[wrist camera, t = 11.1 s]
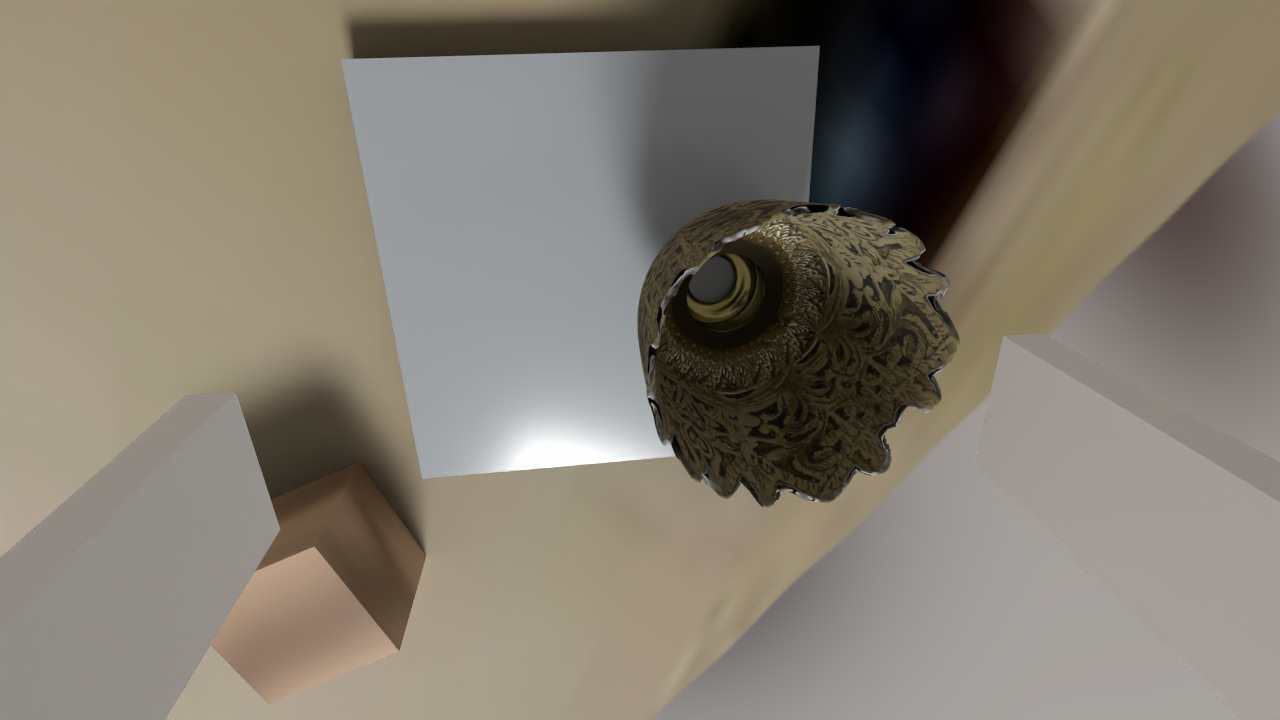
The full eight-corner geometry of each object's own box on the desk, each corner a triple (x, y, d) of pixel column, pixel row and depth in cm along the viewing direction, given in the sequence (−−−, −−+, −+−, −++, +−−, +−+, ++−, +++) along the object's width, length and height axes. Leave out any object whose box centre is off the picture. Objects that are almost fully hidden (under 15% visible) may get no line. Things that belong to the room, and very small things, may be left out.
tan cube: (243, 510, 25) (172, 606, 20) (359, 460, 25) (314, 546, 20) (318, 599, 27) (269, 704, 22) (426, 553, 27) (399, 651, 22)
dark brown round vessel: (690, 116, 20) (795, 131, 12) (855, 245, 22) (1021, 320, 15) (559, 313, 21) (584, 429, 14) (727, 412, 24) (821, 552, 17)
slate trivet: (353, 60, 19) (340, 59, 18) (805, 48, 21) (819, 45, 19) (428, 461, 25) (422, 478, 24) (781, 430, 26) (790, 445, 25)
